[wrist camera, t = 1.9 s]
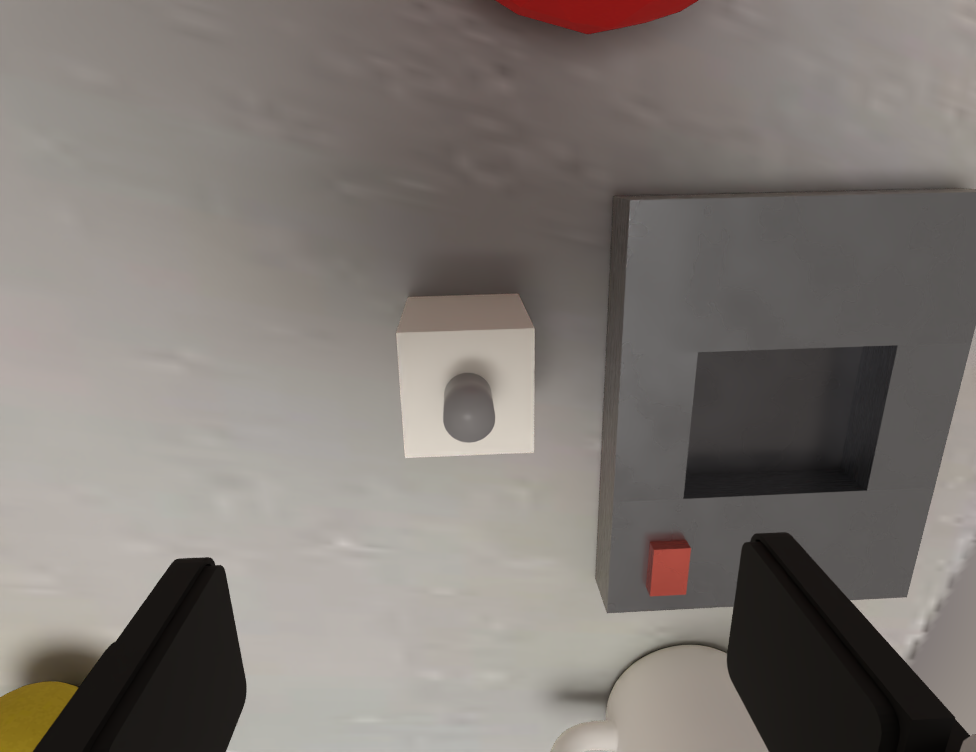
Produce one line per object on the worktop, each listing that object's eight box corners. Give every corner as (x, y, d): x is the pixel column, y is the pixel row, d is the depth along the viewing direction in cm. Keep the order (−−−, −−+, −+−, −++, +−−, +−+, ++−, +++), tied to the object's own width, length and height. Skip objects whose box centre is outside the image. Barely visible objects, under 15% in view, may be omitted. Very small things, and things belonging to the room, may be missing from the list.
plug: (407, 296, 25) (390, 351, 18) (517, 293, 25) (543, 345, 18) (414, 399, 27) (400, 486, 19) (518, 395, 27) (541, 480, 20)
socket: (613, 196, 24) (634, 201, 21) (958, 188, 25) (1024, 191, 22) (595, 578, 30) (610, 622, 27) (873, 564, 31) (915, 605, 28)
